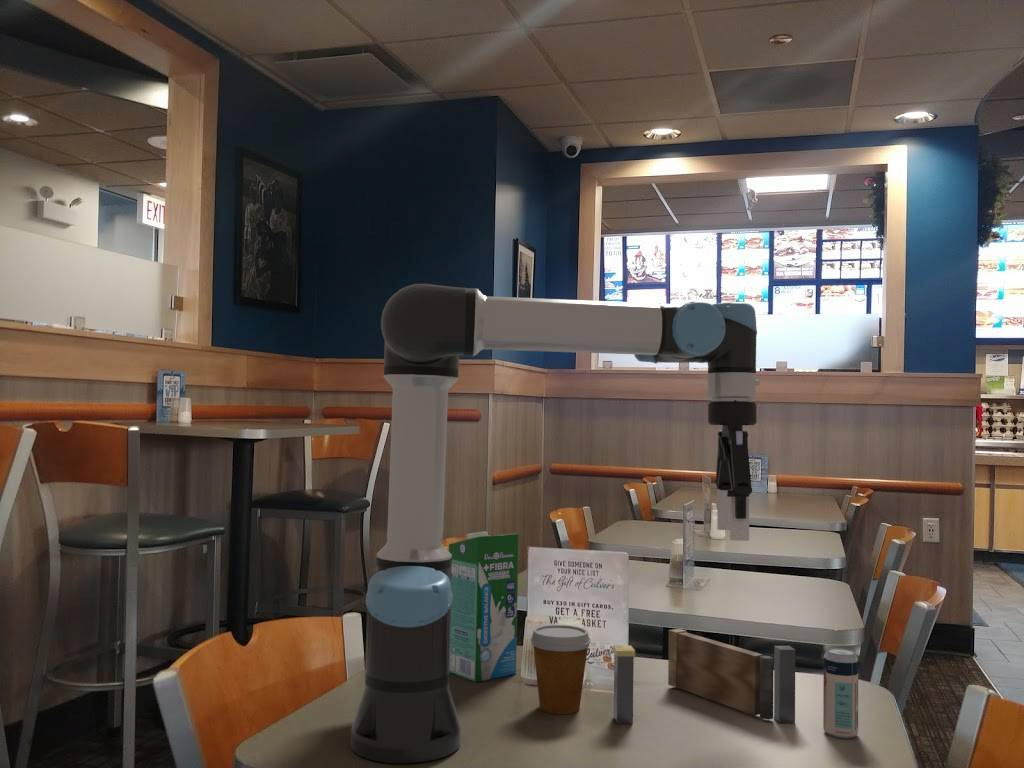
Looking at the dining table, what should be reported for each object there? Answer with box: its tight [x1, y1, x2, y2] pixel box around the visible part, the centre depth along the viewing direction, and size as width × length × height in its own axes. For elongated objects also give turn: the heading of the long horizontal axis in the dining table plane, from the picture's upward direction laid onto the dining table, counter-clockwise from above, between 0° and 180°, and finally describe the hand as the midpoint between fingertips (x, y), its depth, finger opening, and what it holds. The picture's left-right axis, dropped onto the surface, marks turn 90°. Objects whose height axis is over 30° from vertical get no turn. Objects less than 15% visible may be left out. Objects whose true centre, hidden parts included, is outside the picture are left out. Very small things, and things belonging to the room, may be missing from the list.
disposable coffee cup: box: [530, 624, 592, 715], centre depth 142 cm, size 10×10×12 cm
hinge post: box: [773, 645, 796, 724], centre depth 138 cm, size 2×2×11 cm
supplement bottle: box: [822, 647, 859, 740], centre depth 132 cm, size 5×5×12 cm
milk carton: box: [448, 531, 519, 683], centre depth 162 cm, size 9×9×25 cm
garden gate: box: [667, 628, 774, 720], centre depth 146 cm, size 21×2×9 cm, turn 33°
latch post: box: [612, 644, 636, 725], centre depth 136 cm, size 3×3×11 cm
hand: (732, 535), depth 143 cm, fingers open, 13 cm apart
